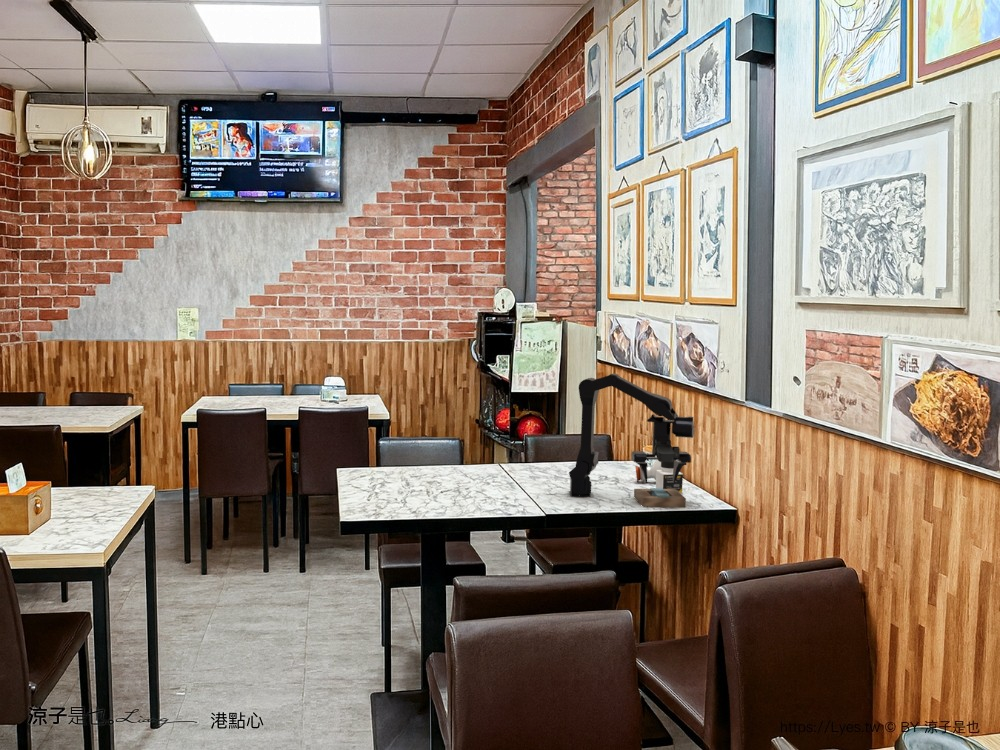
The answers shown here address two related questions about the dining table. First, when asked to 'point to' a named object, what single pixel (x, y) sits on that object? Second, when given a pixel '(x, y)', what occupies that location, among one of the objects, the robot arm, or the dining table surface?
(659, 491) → the block
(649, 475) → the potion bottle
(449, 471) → the dining table surface
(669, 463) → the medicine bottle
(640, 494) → the brown square frame
